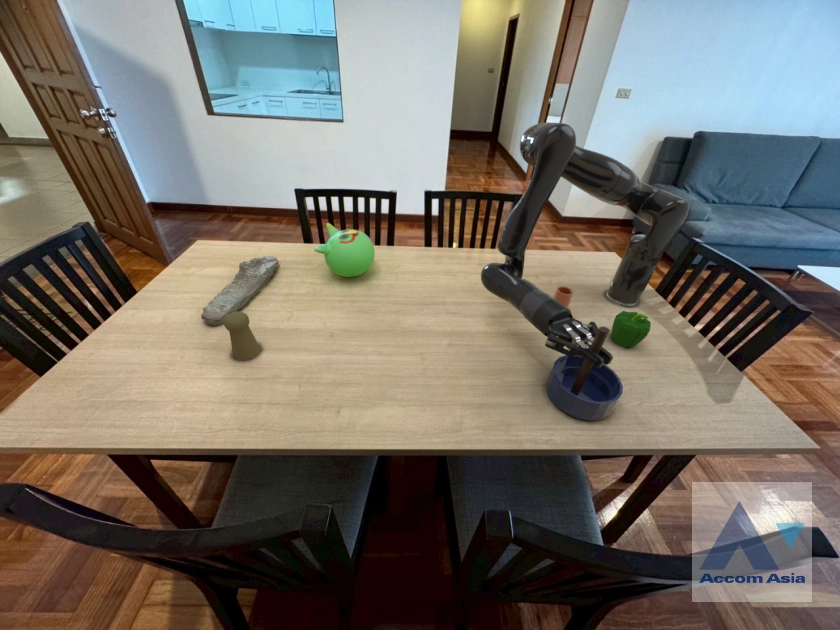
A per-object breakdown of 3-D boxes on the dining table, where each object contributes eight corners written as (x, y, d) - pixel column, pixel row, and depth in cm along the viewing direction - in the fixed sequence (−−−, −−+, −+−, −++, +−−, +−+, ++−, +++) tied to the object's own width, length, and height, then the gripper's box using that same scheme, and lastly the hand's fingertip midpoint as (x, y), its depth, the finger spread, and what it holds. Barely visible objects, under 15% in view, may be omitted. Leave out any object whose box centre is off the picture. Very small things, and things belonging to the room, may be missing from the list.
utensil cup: (558, 304, 108) (565, 284, 104) (569, 312, 105) (577, 293, 101) (546, 307, 107) (553, 288, 102) (557, 316, 103) (565, 296, 99)
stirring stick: (574, 388, 78) (604, 325, 67) (580, 394, 76) (611, 331, 66) (568, 391, 77) (597, 327, 66) (574, 397, 76) (604, 333, 65)
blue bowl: (577, 365, 87) (585, 347, 83) (626, 408, 77) (637, 390, 73) (532, 383, 82) (539, 364, 78) (578, 431, 72) (588, 413, 68)
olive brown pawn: (265, 347, 87) (255, 311, 80) (248, 363, 82) (235, 326, 76) (245, 340, 88) (233, 305, 82) (227, 356, 84) (213, 320, 77)
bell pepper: (599, 335, 97) (612, 306, 91) (620, 329, 100) (635, 300, 94) (623, 355, 91) (640, 325, 85) (646, 348, 94) (663, 318, 88)
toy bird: (371, 287, 111) (369, 244, 102) (317, 284, 111) (311, 241, 102) (377, 259, 125) (376, 220, 116) (330, 257, 125) (325, 217, 116)
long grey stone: (193, 327, 93) (229, 334, 93) (187, 312, 90) (224, 319, 89) (258, 259, 120) (286, 264, 119) (255, 246, 116) (284, 250, 116)
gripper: (523, 305, 75) (586, 358, 62) (571, 292, 80) (638, 339, 68) (516, 332, 79) (573, 387, 67) (562, 318, 84) (623, 366, 72)
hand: (605, 362), depth 67 cm, fingers closed on stirring stick, 2 cm apart
